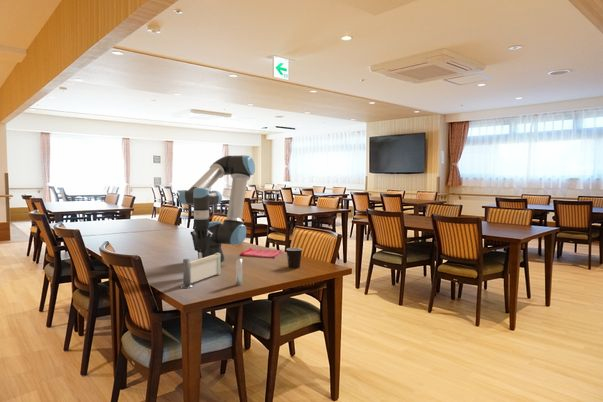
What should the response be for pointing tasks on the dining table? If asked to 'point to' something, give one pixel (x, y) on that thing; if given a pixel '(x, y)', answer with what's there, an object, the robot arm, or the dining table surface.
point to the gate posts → (238, 274)
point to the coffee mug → (294, 257)
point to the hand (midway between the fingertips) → (202, 264)
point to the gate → (201, 268)
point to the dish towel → (261, 253)
